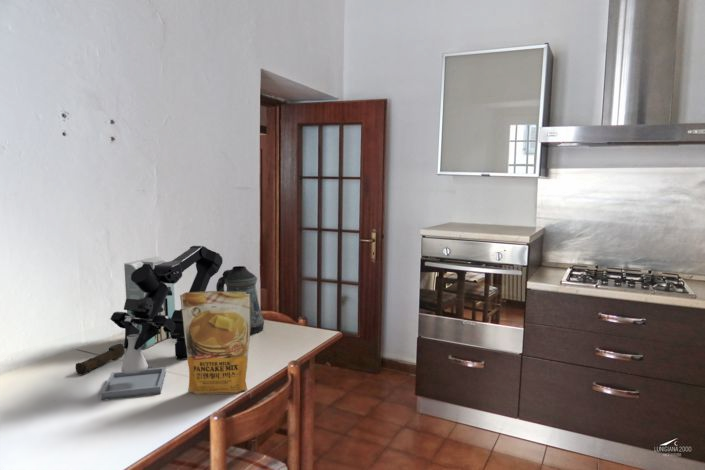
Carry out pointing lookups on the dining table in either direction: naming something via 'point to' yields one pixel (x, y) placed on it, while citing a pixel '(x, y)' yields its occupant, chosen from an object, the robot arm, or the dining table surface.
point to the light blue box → (136, 293)
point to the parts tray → (134, 384)
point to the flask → (133, 357)
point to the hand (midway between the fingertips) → (130, 348)
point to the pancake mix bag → (217, 340)
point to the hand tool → (100, 359)
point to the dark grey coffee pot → (246, 282)
